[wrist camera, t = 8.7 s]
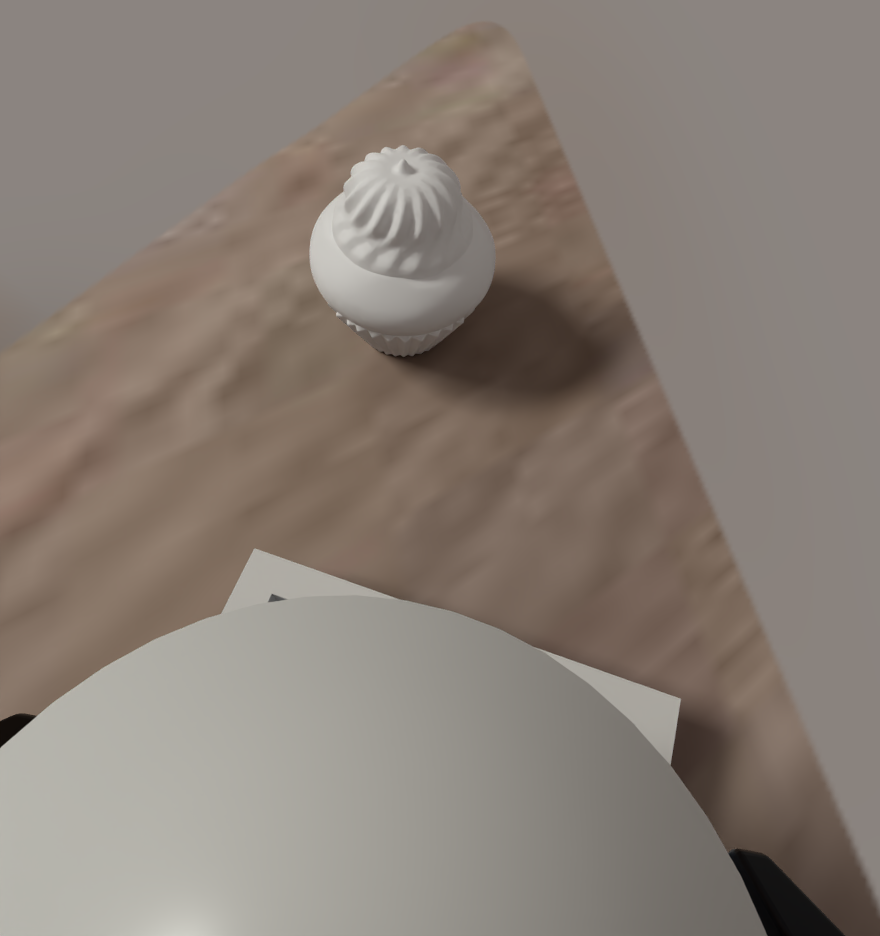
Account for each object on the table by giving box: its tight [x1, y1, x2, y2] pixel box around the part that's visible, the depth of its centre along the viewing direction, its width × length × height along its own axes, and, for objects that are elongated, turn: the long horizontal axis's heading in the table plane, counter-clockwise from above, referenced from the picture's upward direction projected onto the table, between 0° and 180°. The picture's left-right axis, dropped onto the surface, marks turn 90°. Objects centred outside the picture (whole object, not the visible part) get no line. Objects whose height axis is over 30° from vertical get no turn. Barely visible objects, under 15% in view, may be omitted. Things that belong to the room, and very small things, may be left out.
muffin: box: [309, 145, 495, 357], centre depth 21 cm, size 6×6×7 cm
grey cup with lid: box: [0, 595, 767, 936], centre depth 10 cm, size 6×6×13 cm
